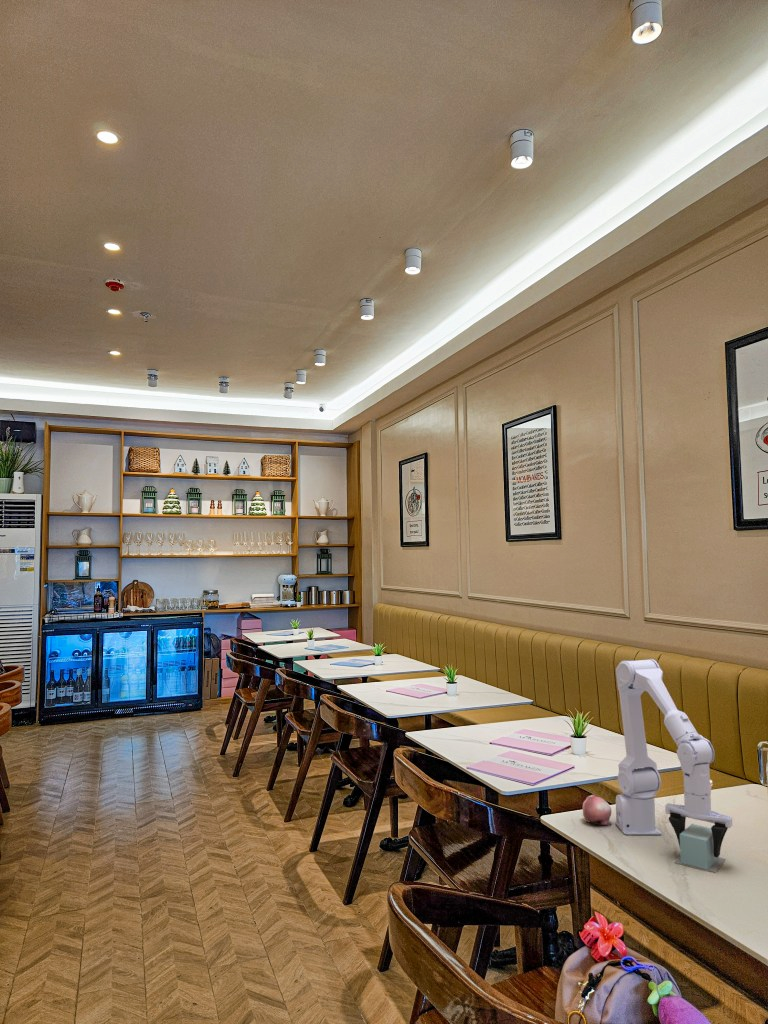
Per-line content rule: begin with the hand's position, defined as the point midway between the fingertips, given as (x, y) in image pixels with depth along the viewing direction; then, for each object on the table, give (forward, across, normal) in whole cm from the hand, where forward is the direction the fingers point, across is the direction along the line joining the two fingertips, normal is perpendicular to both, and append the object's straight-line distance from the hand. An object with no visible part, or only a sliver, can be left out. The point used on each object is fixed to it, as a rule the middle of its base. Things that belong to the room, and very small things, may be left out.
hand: (699, 851), depth 164 cm
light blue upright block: (+2, 0, 0) cm, 2 cm away
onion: (+2, +29, -8) cm, 30 cm away
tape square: (+2, 0, 0) cm, 2 cm away
